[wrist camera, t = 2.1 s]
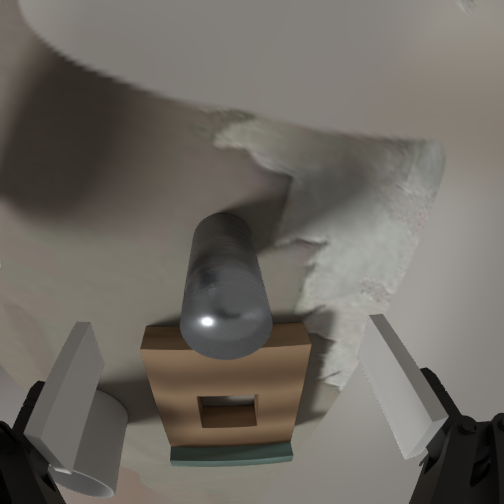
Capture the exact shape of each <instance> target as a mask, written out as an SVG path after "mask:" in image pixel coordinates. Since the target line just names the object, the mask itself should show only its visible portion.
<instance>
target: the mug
mask: <svg viewBox="0 0 504 504" xmlns="http://www.w3.org/2000/svg"><path fill="white" fill-rule="evenodd" d="M127 422H128V415H127V411H126V410H125V408H124V407H123V405H122V404H121V403H120V402H119V401H118V400H116V399H115V398H113V397H112V396H110V395H109V394H107V393H105V392H103V391H100V390H98V389H96V391H95V394H94V397H93V400H92V404H91V407H90V410H89V413H88V416H87V420H86V423H85V426H84V430H83V433H82V437H81V440H80V444H79V447H78V451H77V455H76V459H75V463H74V467H73V471H72V474H67V473H63V472H59V471H56V470H55V469H54V468H53V467H52V466H51V465H50V464H49V467H48V471H49V473H50V474H51V476H52V478H53V480H54V482H56V483H57V484H59V485H61V486H63V487H65V488H67V489H69V490H72V491H74V492H77V493H80V494H83V495H87V496H92V497H98V498H109V497H112V496H114V495H115V492H116V487H117V480H118V473H119V466H120V460H121V453H122V447H123V442H124V436H125V432H126V427H127Z"/></svg>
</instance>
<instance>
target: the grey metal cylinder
mask: <svg viewBox="0 0 504 504" xmlns="http://www.w3.org/2000/svg"><path fill="white" fill-rule="evenodd" d="M272 326H273V321H272V315H271V311H270V307H269V303H268V299H267V295H266V291H265V287H264V283H263V279H262V275H261V271H260V267H259V263H258V259H257V255H256V251H255V247H254V243H253V238H252V234H251V231H250V229H249V227H248V226H247V224H246V223H245V222H244V221H243V220H242V219H240V218H239V217H237V216H235V215H232V214H227V213H218V214H214V215H211V216H209V217H207V218H205V219H204V220H203V221H201V222H200V224H199V225H198V226H197V228H196V230H195V232H194V236H193V242H192V247H191V253H190V259H189V265H188V271H187V278H186V284H185V290H184V297H183V304H182V311H181V318H180V330H181V334H182V336H183V338H184V340H185V342H186V343H187V344H188V345H189V346H190V347H191V348H192V349H193V350H194V351H196V352H197V353H199V354H201V355H203V356H206V357H209V358H213V359H218V360H233V359H239V358H242V357H245V356H248V355H250V354H252V353H254V352H255V351H257V350H258V349H260V348H261V347H262V346H263V345H264V344H265V343H266V341H267V340H268V338H269V336H270V334H271V331H272Z"/></svg>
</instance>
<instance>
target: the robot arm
mask: <svg viewBox="0 0 504 504" xmlns="http://www.w3.org/2000/svg"><path fill="white" fill-rule="evenodd" d="M357 358H358V360H359V362H360V364H361V366H362V368H363V370H364V372H365V374H366V377H367V379H368V381H369V383H370V385H371V387H372V389H373V391H374V393H375V395H376V397H377V400H378V402H379V404H380V406H381V408H382V410H383V412H384V414H385V417H386V419H387V421H388V423H389V425H390V428H391V429H392V432H393V434H394V436H395V439H396V441H397V443H398V445H399V447H400V450H401V452H402V454H403V457H404V459H405V460H406V459H409V458H411V457H415V456H418V455H420V454H421V453H422V451H423V450H424V449H425V448H427V450H428V452H429V453H428V454H427V455H426V456H425V458H424V459H423V460H422V461H421V462H420V464H419V466H421V465H422V464H423V463H424V465H423V468H422V470H421V473H420V476H419V479H418V482H417V484H416V487H415V490H414V492H413V495H412V497H411V500H410V502H409V504H504V413H499V414H497V415H496V416H494V418H493V419H492V420H491V421H486V422H476V421H475V420H474V419H473V418H471V417H469V416H463V415H461V413H460V412H459V410H458V408H457V407H456V405H455V404H454V402H453V400H452V399H451V397H450V396H449V394H448V393H447V391H445V388H444V387H443V385H442V384H441V382H440V380H439V379H438V377H437V376H436V374H434V373H433V372H432V371H431V370H429V369H428V368H422V369H419V368H418V366H417V365H416V363H415V361H414V360H413V358H412V357H411V355H410V354H409V352H408V351H407V349H406V348H405V346H404V345H403V343H402V342H401V340H400V339H399V337H398V336H397V334H396V333H395V331H394V330H393V329H392V327H391V326H390V324H389V323H388V321H387V320H386V318H385V317H384V315H383V314H377V315H369V317H368V320H367V324H366V328H365V331H364V335H363V338H362V342H361V345H360V349H359V352H358V355H357ZM104 365H105V364H104V362H103V359H102V356H101V353H100V350H99V347H98V345H97V342H96V339H95V335H94V332H93V329H92V326H91V323H90V322H76V324H75V326H74V327H73V329H72V331H71V333H70V335H69V337H68V339H67V340H66V342H65V344H64V346H63V348H62V350H61V352H60V354H59V356H58V358H57V360H56V362H55V364H54V366H53V368H52V370H51V372H50V374H49V376H48V378H47V380H46V382H43V381H37V382H36V383H35V384H34V385H33V386H32V387H31V388H30V390H29V393H28V395H27V397H26V399H25V401H24V403H23V407H22V408H21V410H20V412H19V414H18V417H17V419H16V421H15V423H14V426H13V428H12V429H11V428H10V427H9V425H8V424H6V423H5V422H3V421H0V504H66V503H65V501H64V499H63V497H62V496H61V494H60V492H59V490H58V488H57V486H56V484H55V482H54V480H53V478H52V476H51V474H50V473H49V471H48V467H49V464H50V465H51V466H52V467H53V468H54V469H55V470H56V471H59V472H63V473H67V474H72V471H73V467H74V463H75V459H76V455H77V451H78V447H79V444H80V440H81V437H82V433H83V430H84V426H85V423H86V420H87V416H88V413H89V410H90V407H91V404H92V400H93V397H94V394H95V391H96V388H97V385H98V382H99V379H100V376H101V373H102V371H103V368H104Z"/></svg>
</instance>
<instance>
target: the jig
mask: <svg viewBox="0 0 504 504" xmlns="http://www.w3.org/2000/svg"><path fill="white" fill-rule="evenodd" d="M311 345H312V344H311V341H310V338H309V336H308V333H307V330H306V328H305V325H304V322H298V323H282V324H273V326H272V331H271V334H270V336H269V338H268V340H267V341H266V343H265V344H264V345H263V346H262V347H261V348H260V349H258V350H257V351H255V352H254V353H252V354H250V355H248V356H245V357H242V358H239V359H233V360H218V359H213V358H209V357H206V356H203V355H201V354H199V353H197V352H196V351H194V350H193V349H192V348H191V347H190V346H189V345H188V344H187V343H186V342H185V340H184V338H183V336H182V334H181V330H180V327H146V329H145V332H144V336H143V340H142V344H141V348H140V351H141V354H142V358H143V362H144V365H145V369H146V372H147V376H148V379H149V383H150V386H151V389H152V393H153V396H154V399H155V402H156V405H157V408H158V411H159V414H160V417H161V420H162V423H163V426H164V429H165V432H166V434H167V437H168V440H169V443H170V445H171V454H170V461H171V464H172V466H187V467H222V466H245V465H259V464H271V463H280V462H289V461H292V458H293V452H292V447H291V443H290V441H291V437H292V433H293V429H294V425H295V421H296V416H297V412H298V408H299V403H300V399H301V394H302V390H303V385H304V380H305V375H306V370H307V365H308V360H309V355H310V350H311ZM254 394H255V399H254V405H245V406H220V407H202V402H201V396H234V395H254Z"/></svg>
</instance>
